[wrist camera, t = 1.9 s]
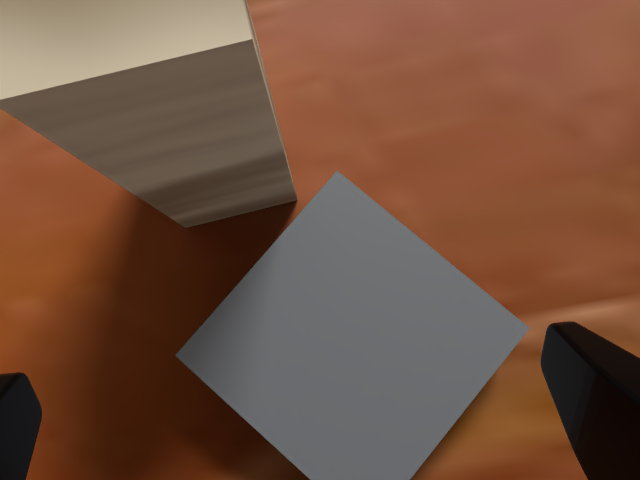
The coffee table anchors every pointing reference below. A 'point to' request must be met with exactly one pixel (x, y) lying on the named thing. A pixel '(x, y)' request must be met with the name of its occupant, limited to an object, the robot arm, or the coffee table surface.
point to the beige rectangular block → (151, 99)
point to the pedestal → (352, 342)
